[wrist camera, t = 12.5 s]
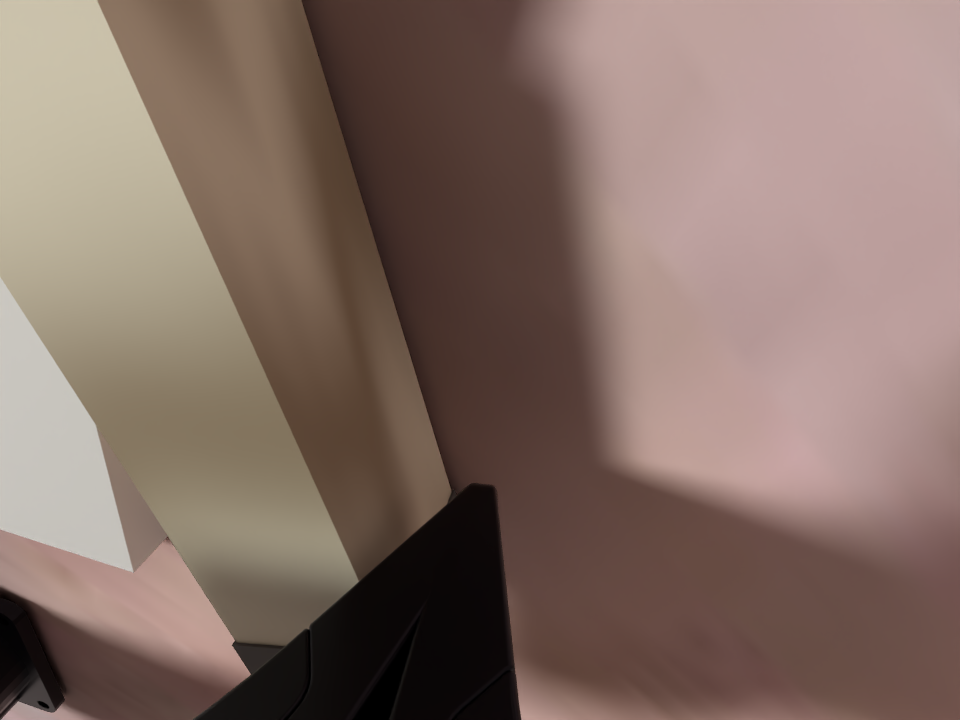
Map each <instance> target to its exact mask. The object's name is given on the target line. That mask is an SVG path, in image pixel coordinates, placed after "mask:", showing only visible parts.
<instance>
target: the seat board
mask: <svg viewBox="0 0 960 720" xmlns="http://www.w3.org/2000/svg"><path fill="white" fill-rule="evenodd" d="M0 529H1V530H4V531H7V532H10V533H13V534H16V535H19V536H22V537H25V538H28V539H31V540H34V541H38V542H41V543H44V544H47V545H50V546H53V547H56V548H59V549H62V550H65V551H68V552H71V553H74V554H78V555H81V556H84V557H87V558H90V559H93V560H96V561H99V562H102V563H105V564H108V565H111V566H115V567H118V568H121V569H124V570H127V571H130V572H133V573H134V572H135V571H136V570H137V569H138V567H139V566H140V565H141V564H142V563H143V562H144V561H145V560H146V559H147V558H148V557H149V556H150V555H151V554H152V553H153V551H154V550H155V549H156V548H157V547H158V546H159V545H160V544H161V543H162V542H163V541H164V540H165V539H166V538H167V537H168V536H167V534H166V533H165V531H164V530H163V528H162V526H161V525H160V523H159V522H158V520H157V519H156V517H155V516H154V514H153V513H152V511H151V509H150V508H149V506H148V505H147V503H146V502H145V500H144V499H143V497H142V496H141V494H140V492H139V491H138V489H137V488H136V486H135V485H134V483H133V482H132V480H131V479H130V477H129V475H128V474H127V472H126V471H125V469H124V468H123V466H122V465H121V463H120V461H119V460H118V458H117V457H116V455H115V454H114V452H113V451H112V449H111V448H110V446H109V444H108V443H107V441H106V440H105V438H104V437H103V435H102V434H101V432H100V431H99V429H98V427H97V426H96V424H95V423H94V421H93V420H92V418H91V417H90V415H89V414H88V412H87V410H86V409H85V407H84V406H83V404H82V403H81V401H80V400H79V398H78V397H77V395H76V393H75V392H74V390H73V389H72V387H71V386H70V384H69V383H68V381H67V379H66V378H65V376H64V375H63V373H62V372H61V370H60V369H59V367H58V366H57V364H56V362H55V361H54V359H53V358H52V356H51V355H50V353H49V352H48V350H47V349H46V347H45V345H44V344H43V342H42V341H41V339H40V338H39V336H38V335H37V333H36V332H35V330H34V328H33V327H32V325H31V324H30V322H29V321H28V319H27V318H26V316H25V315H24V313H23V311H22V310H21V308H20V307H19V305H18V304H17V302H16V301H15V299H14V297H13V296H12V294H11V293H10V291H9V290H8V288H7V287H6V285H5V284H4V282H3V280H2V279H1V277H0Z"/></svg>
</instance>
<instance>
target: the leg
mask: <svg viewBox="0 0 960 720" xmlns="http://www.w3.org/2000/svg"><path fill="white" fill-rule="evenodd" d="M0 277H1V279H2V280H3V282H4V284H5V285H6V287H7V288H8V290H9V291H10V293H11V294H12V296H13V297H14V299H15V301H16V302H17V304H18V305H19V307H20V308H21V310H22V311H23V313H24V315H25V316H26V318H27V319H28V321H29V322H30V324H31V325H32V327H33V328H34V330H35V332H36V333H37V335H38V336H39V338H40V339H41V341H42V342H43V344H44V345H45V347H46V349H47V350H48V352H49V353H50V355H51V356H52V358H53V359H54V361H55V362H56V364H57V366H58V367H59V369H60V370H61V372H62V373H63V375H64V376H65V378H66V379H67V381H68V383H69V384H70V386H71V387H72V389H73V390H74V392H75V393H76V395H77V397H78V398H79V400H80V401H81V403H82V404H83V406H84V407H85V409H86V410H87V412H88V414H89V415H90V417H91V418H92V420H93V421H94V423H95V424H96V426H97V427H98V429H99V431H100V432H101V434H102V435H103V437H104V438H105V440H106V441H107V443H108V444H109V446H110V448H111V449H112V451H113V452H114V454H115V455H116V457H117V458H118V460H119V461H120V463H121V465H122V466H123V468H124V469H125V471H126V472H127V474H128V475H129V477H130V479H131V480H132V482H133V483H134V485H135V486H136V488H137V489H138V491H139V492H140V494H141V496H142V497H143V499H144V500H145V502H146V503H147V505H148V506H149V508H150V509H151V511H152V513H153V514H154V516H155V517H156V519H157V520H158V522H159V523H160V525H161V526H162V528H163V530H164V531H165V533H166V534H167V536H168V537H169V539H170V540H171V542H172V543H173V545H174V547H175V548H176V550H177V551H178V553H179V554H180V556H181V557H182V559H183V561H184V562H185V564H186V565H187V567H188V568H189V570H190V571H191V573H192V574H193V576H194V578H195V579H196V581H197V582H198V584H199V585H200V587H201V588H202V590H203V591H204V593H205V595H206V596H207V598H208V599H209V601H210V602H211V604H212V605H213V607H214V608H215V610H216V612H217V613H218V615H219V616H220V618H221V619H222V621H223V622H224V624H225V625H226V627H227V629H228V630H229V632H230V633H231V635H232V636H233V638H234V639H235V642H234V643H233V645H232V646H233V647H234V649H235V650H236V652H237V653H238V655H239V656H240V658H241V660H242V661H243V663H244V664H245V666H246V667H247V669H248V670H249V672H250V673H251V674H253V673H254V672H255V671H256V670H257V669H259V668H260V667H261V666H262V665H263V664H264V663H266V662H267V661H268V660H269V659H270V658H272V657H273V656H274V655H275V654H276V653H278V652H279V651H280V650H281V649H282V648H283V647H285V646H286V645H287V644H288V643H289V642H290V641H291V640H293V639H294V638H295V637H296V636H297V635H298V634H299V633H301V632H302V631H303V630H304V629H309V626H310V624H311V623H312V622H313V621H315V620H316V619H317V618H318V617H319V616H320V615H321V614H322V613H324V612H325V611H326V610H327V609H328V608H329V607H330V606H332V605H333V604H334V603H335V602H336V601H337V600H338V599H340V598H341V597H342V596H343V595H344V594H345V593H346V592H348V591H349V590H350V589H351V588H352V587H353V586H354V585H355V584H357V583H358V582H359V581H360V580H361V579H362V578H363V577H365V576H366V575H367V574H368V573H369V572H370V571H371V570H373V569H374V568H375V567H376V566H377V565H378V564H379V563H381V562H382V561H383V560H384V559H385V558H386V557H387V556H388V555H390V554H391V553H392V552H393V551H394V550H395V549H396V548H398V547H399V546H400V545H401V544H402V543H403V542H404V541H406V540H407V539H408V538H409V537H410V536H411V535H412V534H413V533H415V532H416V531H417V530H418V529H419V528H420V527H421V526H423V525H424V524H425V523H426V522H427V521H428V520H429V519H431V518H432V517H433V516H434V515H435V514H436V513H437V512H439V511H440V510H441V509H442V508H443V507H444V506H445V505H446V504H448V503H449V502H450V501H451V500H452V499H453V498H454V497H456V493H455V490H451V488H450V485H449V481H448V478H447V475H446V472H445V468H444V465H443V462H442V458H441V455H440V452H439V449H438V445H437V442H436V439H435V436H434V432H433V429H432V426H431V423H430V419H429V416H428V413H427V409H426V406H425V403H424V400H423V396H422V393H421V390H420V387H419V383H418V380H417V377H416V374H415V370H414V367H413V364H412V360H411V357H410V354H409V351H408V347H407V344H406V341H405V338H404V334H403V331H402V328H401V325H400V321H399V318H398V315H397V311H396V308H395V305H394V302H393V298H392V295H391V292H390V289H389V285H388V282H387V279H386V276H385V272H384V269H383V266H382V262H381V259H380V256H379V253H378V249H377V246H376V243H375V240H374V236H373V233H372V230H371V227H370V223H369V220H368V217H367V213H366V210H365V207H364V204H363V200H362V197H361V194H360V191H359V187H358V184H357V181H356V178H355V174H354V171H353V168H352V164H351V161H350V158H349V155H348V151H347V148H346V145H345V142H344V138H343V135H342V132H341V129H340V125H339V122H338V119H337V115H336V112H335V109H334V106H333V102H332V99H331V96H330V93H329V89H328V86H327V83H326V80H325V76H324V73H323V70H322V66H321V63H320V60H319V57H318V53H317V50H316V47H315V44H314V40H313V37H312V34H311V31H310V27H309V24H308V21H307V17H306V14H305V11H304V8H303V4H302V1H301V0H0Z"/></svg>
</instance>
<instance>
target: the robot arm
mask: <svg viewBox="0 0 960 720" xmlns="http://www.w3.org/2000/svg"><path fill="white" fill-rule="evenodd" d="M18 701H19V702H22V703H25V704H27V705H30V706H33V707H36V708H39V709H41V710H44V711H47V712H55V711H56V710H57V709H58V708H59V706H60V705H61V704H62V703H63V702H64V701H65V699H64V696H63V694H62V692H61V690H60V687H59V685H58V683H57V681H56V678H55V676H54V674H53V672H52V670H51V667H50V665H49V663H48V661H47V658H46V656H45V654H44V652H43V650H42V647H41V645H40V643H39V641H38V638H37V636H36V634H35V632H34V630H33V627H32V625H31V623H30V621H29V618H28V616H27V614H26V613H25V611H24V610H23V609H22V608H21V607H20V606H18V605H17V604H15V603H13V602H11V601H8V600H5V599H2V598H0V720H1V719H2V718H3V717H4V716H5V714H6V713H7V712H8V711H9V710H10V709H11V708H12V707H13V706H14V705H15V704H16V703H17V702H18ZM193 720H521V714H520V707H519V699H518V690H517V680H516V674H515V664H514V655H513V645H512V636H511V626H510V617H509V607H508V598H507V588H506V579H505V569H504V560H503V550H502V541H501V531H500V522H499V512H498V499H497V490H496V488H495V486H493V485H486V484H478V483H472V484H470V485H468V486H467V487H466V488H465V489H464V490H462V491H461V492H460V493H459V494H458V495H457V496H456V497H454V498H453V499H452V500H451V501H450V502H449V503H448V504H446V505H445V506H444V507H443V508H442V509H441V510H440V511H439V512H437V513H436V514H435V515H434V516H433V517H432V518H431V519H429V520H428V521H427V522H426V523H425V524H424V525H423V526H421V527H420V528H419V529H418V530H417V531H416V532H415V533H413V534H412V535H411V536H410V537H409V538H408V539H407V540H406V541H404V542H403V543H402V544H401V545H400V546H399V547H398V548H396V549H395V550H394V551H393V552H392V553H391V554H390V555H388V556H387V557H386V558H385V559H384V560H383V561H382V562H381V563H379V564H378V565H377V566H376V567H375V568H374V569H373V570H371V571H370V572H369V573H368V574H367V575H366V576H365V577H363V578H362V579H361V580H360V581H359V582H358V583H357V584H355V585H354V586H353V587H352V588H351V589H350V590H349V591H348V592H346V593H345V594H344V595H343V596H342V597H341V598H340V599H338V600H337V601H336V602H335V603H334V604H333V605H332V606H330V607H329V608H328V609H327V610H326V611H325V612H324V613H322V614H321V615H320V616H319V617H318V618H317V619H316V620H315V621H313V622H312V623H311V624H310V626H309V629H304V630H303V631H302V632H301V633H299V634H298V635H297V636H296V637H295V638H294V639H293V640H291V641H290V642H289V643H288V644H287V645H286V646H285V647H283V648H282V649H281V650H280V651H279V652H278V653H276V654H275V655H274V656H273V657H272V658H270V659H269V660H268V661H267V662H266V663H264V664H263V665H262V666H261V667H260V668H259V669H257V670H256V671H255V672H254V673H253V674H251V675H250V676H249V677H248V678H246V679H245V680H244V681H243V682H241V683H240V684H239V685H237V686H236V687H235V688H234V689H232V690H231V691H230V692H228V693H227V694H226V695H224V696H223V697H222V698H221V699H219V700H218V701H217V702H215V703H214V704H213V705H212V706H210V707H209V708H208V709H206V710H205V711H204V712H202V713H201V714H200V715H198V716H197V717H196V718H194V719H193Z"/></svg>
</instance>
